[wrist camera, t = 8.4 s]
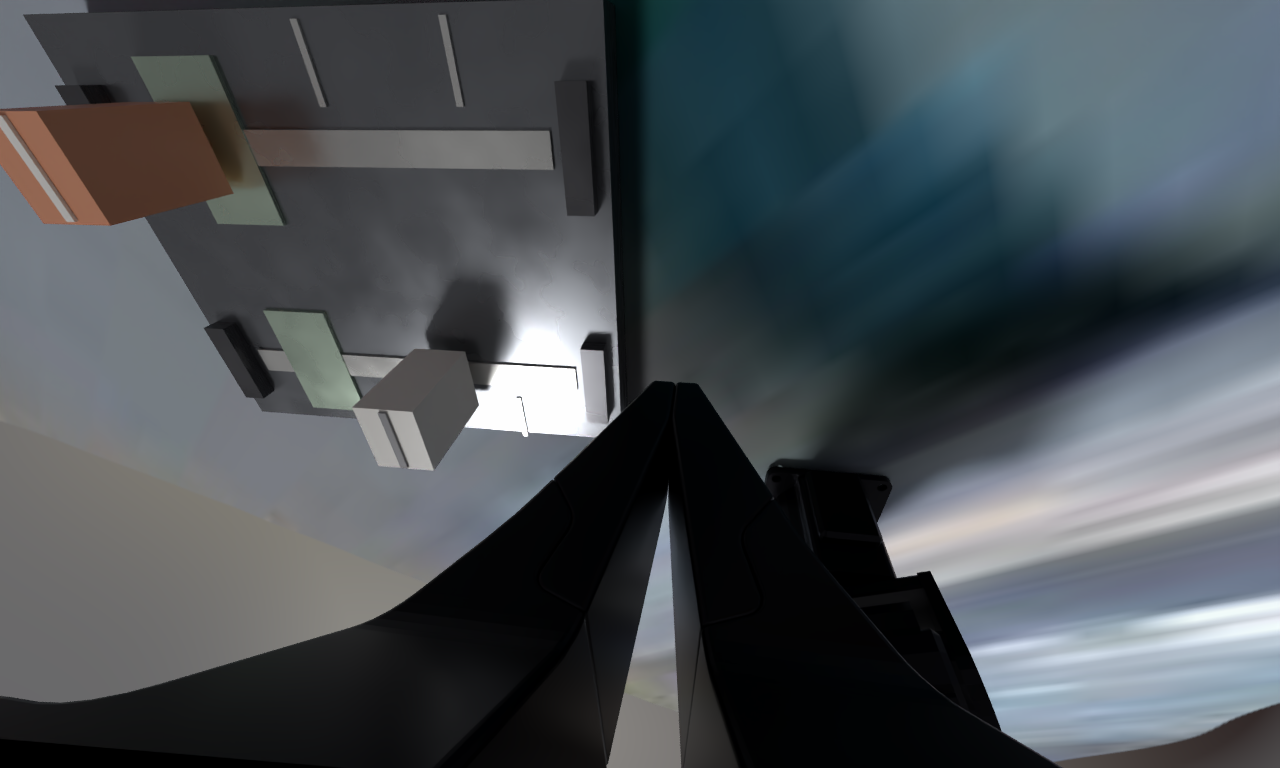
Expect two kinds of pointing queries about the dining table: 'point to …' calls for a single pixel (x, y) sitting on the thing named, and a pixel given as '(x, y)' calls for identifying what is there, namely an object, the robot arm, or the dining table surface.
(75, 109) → the block
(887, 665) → the robot arm
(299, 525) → the dining table surface
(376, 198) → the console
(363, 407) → the fader
